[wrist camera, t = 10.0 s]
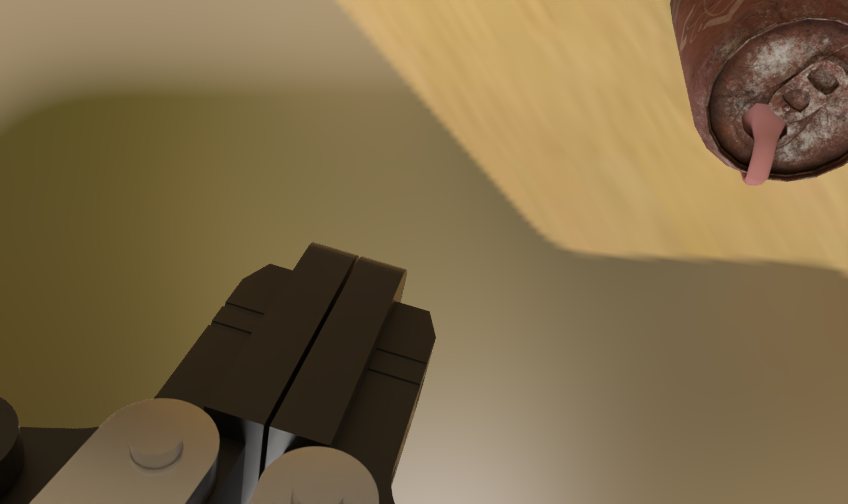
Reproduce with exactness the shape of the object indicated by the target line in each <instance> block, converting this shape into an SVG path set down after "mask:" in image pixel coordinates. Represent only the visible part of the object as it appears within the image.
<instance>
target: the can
mask: <svg viewBox="0 0 848 504" xmlns="http://www.w3.org/2000/svg"><path fill="white" fill-rule="evenodd" d="M670 6H671V14H672V21H673V27H674V32H675V36H676V41H677V45H678V50H679V55H680V59H681V64H682V69H683V73H684V78H685V83H686V87H687V92H688V97H689V101H690V106H691V111H692V115H693V120H694V124H695V127H696V129H697V131H698V133H699V135H700V136H701V138H702V140H703V142H704V144H705V146H706V148H707V149H708V150H709V151H711V152H712V153H713V154H714V155H715V156H716V157H717V158H719V159H720V160H721V161H722V162H723V163H724V164H725V165H727V166H729V167H732V168H734V169H736V170H739V171H740V172H741V176H742V179H743V181H744V183H745V184H747V185H760V184H762V183H763V182H764V181H766V180H776V181H786V182H788V181H795V180H801V179H808V178H814V177H818V176H820V175H822V174H825V173H827V172H830V171H832V170H834V169H837V168H839V167H842V166H844V165H845V164H846V163H848V0H671V2H670Z"/></svg>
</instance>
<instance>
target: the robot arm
mask: <svg viewBox="0 0 848 504" xmlns="http://www.w3.org/2000/svg"><path fill="white" fill-rule="evenodd" d="M406 275H407V270H406V269H402V268H399V267H395V266H392V265H389V264H385V263H382V262H378V261H375V260H372V259H369V258H365V257H360V259H359V256H358V255H354V254H351V253H348V252H344V251H341V250H338V249H334V248H331V247H328V246H324V245H321V244H317V243H314V242H313V243H311V244H310V245H309V247H308V248H307V250H306V251H305V253H304V254H303V256H302V257H301V259H300V260H299V262H298V263H297V265H296V266H295V268H294V269H293V271H292V270H289V269H286V268H282V267H279V266H276V265H272V264H269V265H267V266H265V267H263V268H262V269H260V270H258V271H256V272H254V273H253V274H251V275H249V276H247V277H246V278H244V279H243V280H242V281H241V282H240V283H239V285H238V286H237V288H236V289H235V290H234V292H233V293H232V294H231V296H230V297H229V298H228V300H227V301H226V304H225V306H224V307H223V306H222V308H221V309H220V310H219V312H218V313H217V314H216V316H215V317H214V319H213V320H212V323H211V325H208V327H207V328H206V329H205V331H204V332H203V333H202V335H201V336H200V337H199V339H198V340H197V341H196V343H195V344H194V345H193V347H192V348H191V349H190V351H189V352H188V354H187V355H186V356H185V358H184V359H183V360H182V362H181V363H180V364H179V366H178V367H177V368H176V370H175V371H174V372H173V374H172V375H171V377H170V378H169V379H168V381H167V382H166V384H165V385H164V386H163V387H162V389H161V390H160V391H159V393H158V394H157V395H156V396H155V398H154V399H148V400H144V401H140V402H136V403H134V404H131V405H128V406H126V407H124V408H122V409H120V410H119V411H117V412H116V413H114V414H113V415H111V416H110V417H109V418H108V419H107V420H106V421H105V422H104V423H103V424H102V425H101V426H100V427H94V428H83V429H65V428H32V427H20V426H19V421H18V417H17V414H16V412H15V411H14V409H13V407H12V406H11V405H10V404H9V403H8V402H6V400H4V399H2V398H0V504H395V503H394V500H393V496H392V489H391V485H392V483H393V479H394V476H395V473H396V470H397V467H398V464H399V461H400V457H401V454H402V451H403V448H404V445H405V442H406V438H407V435H408V432H409V429H410V426H411V423H412V419H413V417H414V413H415V410H416V407H417V404H418V400H419V396H420V393H421V389H422V385H423V382H424V379H425V375H426V371H427V367H428V364H429V361H430V357H431V353H432V349H433V346H434V343H435V339H436V336H435V333H434V328H433V324H432V320H431V315H430V312H429V311H426V310H423V309H419V308H416V307H413V306H409V305H406V304H402V303H400V302H401V298H402V293H403V289H404V285H405V281H406Z"/></svg>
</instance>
